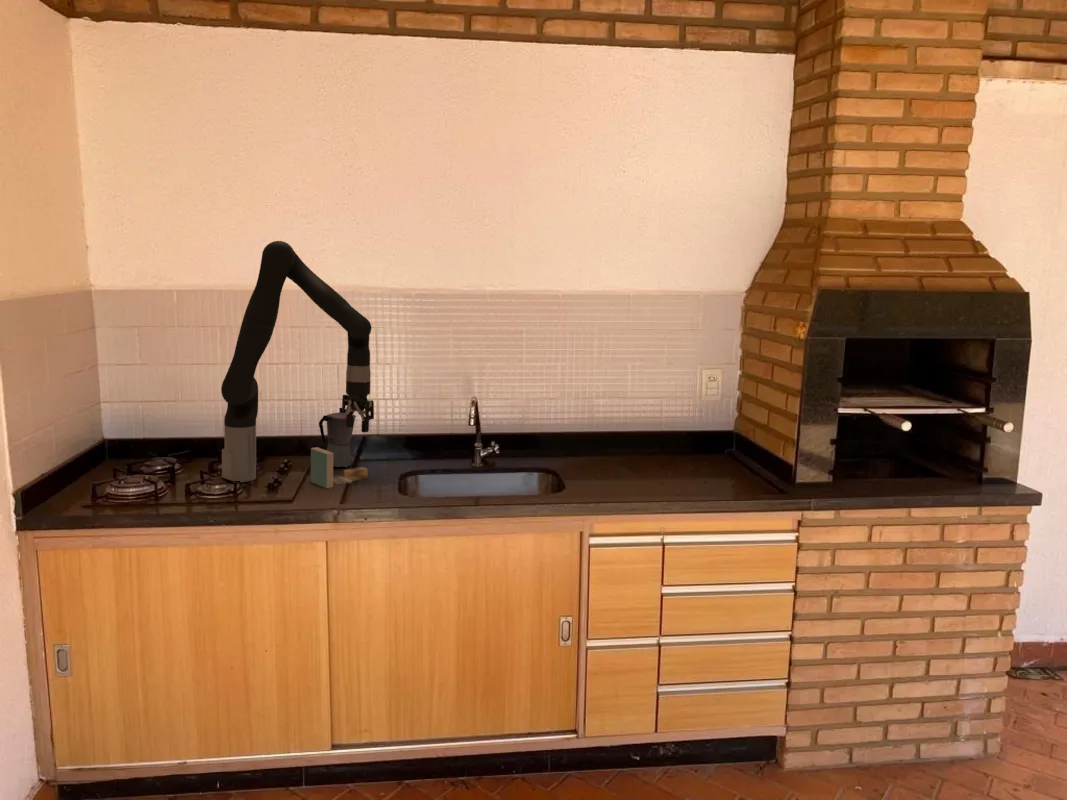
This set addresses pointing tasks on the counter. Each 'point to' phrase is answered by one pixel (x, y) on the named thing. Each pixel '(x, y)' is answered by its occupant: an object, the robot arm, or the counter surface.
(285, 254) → the robot arm
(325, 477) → the tile
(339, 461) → the moka pot
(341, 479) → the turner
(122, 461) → the counter surface
